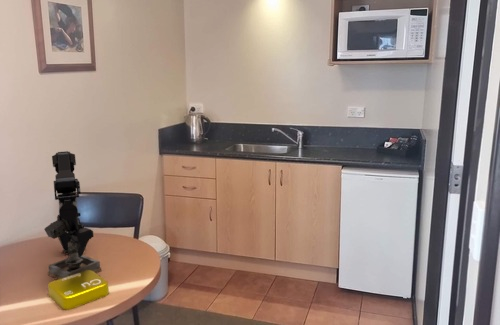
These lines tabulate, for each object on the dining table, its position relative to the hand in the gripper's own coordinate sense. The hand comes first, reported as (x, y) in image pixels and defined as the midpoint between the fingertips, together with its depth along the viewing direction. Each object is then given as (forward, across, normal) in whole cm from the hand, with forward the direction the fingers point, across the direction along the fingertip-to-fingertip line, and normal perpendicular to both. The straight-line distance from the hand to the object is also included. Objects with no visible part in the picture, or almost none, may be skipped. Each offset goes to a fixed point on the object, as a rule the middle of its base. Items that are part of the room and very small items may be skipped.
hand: (73, 253), depth 158 cm
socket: (+8, 0, 0) cm, 8 cm away
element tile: (+8, +15, -8) cm, 19 cm away
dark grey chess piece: (+7, 0, 0) cm, 7 cm away
